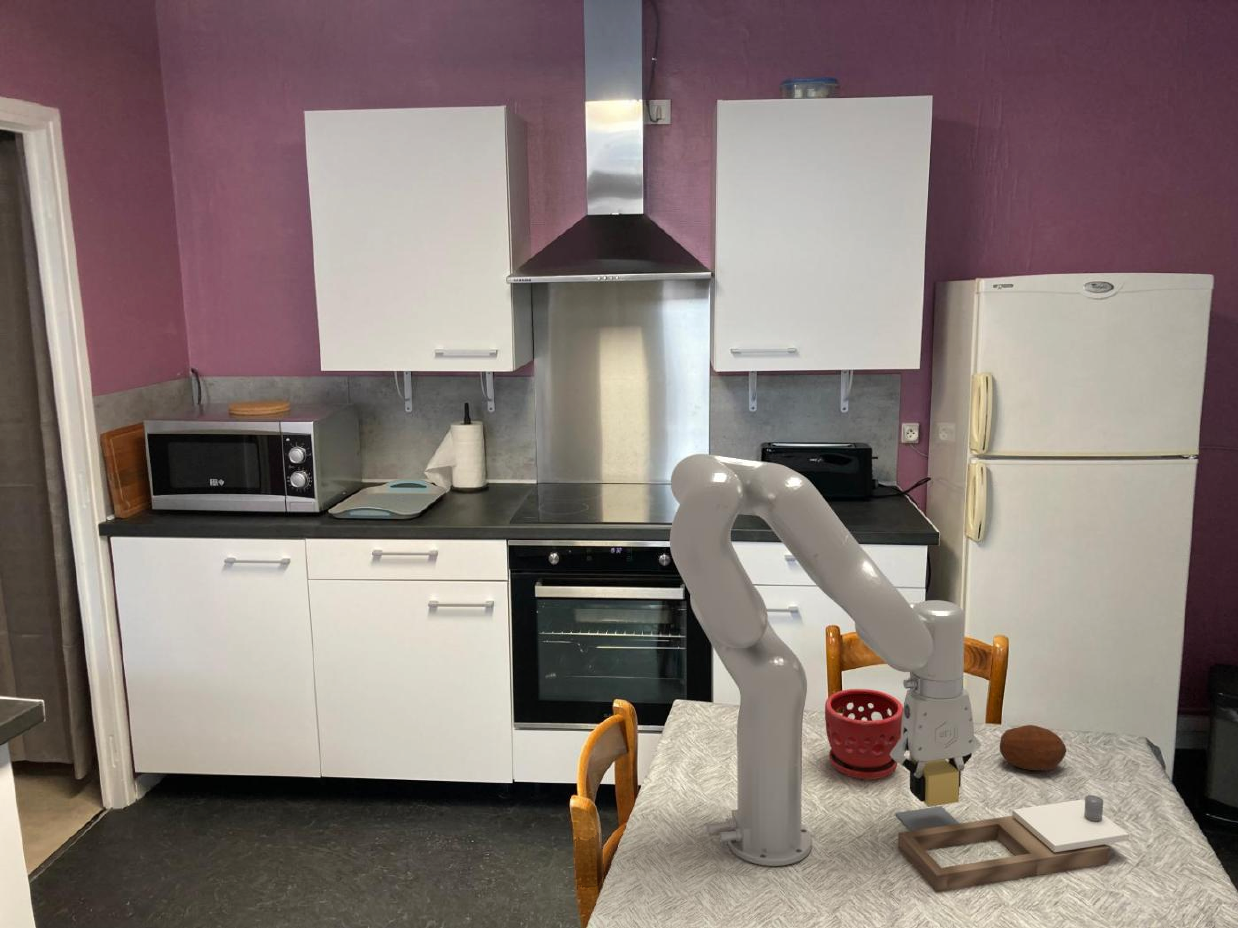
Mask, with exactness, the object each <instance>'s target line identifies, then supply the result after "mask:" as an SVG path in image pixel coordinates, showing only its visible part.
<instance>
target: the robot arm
mask: <svg viewBox="0 0 1238 928" xmlns="http://www.w3.org/2000/svg"><path fill="white" fill-rule="evenodd" d="M670 489H671V493H672V495H673V497H674V499H675V500H676V502H677V503H678V504H679V505H678V508H677V510H676V512H675V515H674V517H673V520H672V523H671V528H670V532H669V533H670V534H669V535H670V536H669V548H670V554H671V557H672V559H673V562H674V564H675V566H676V568H677V571H678V573H679V575H680V577H681V579H682V581H683V583H684V585H685V587H686V588H687V590H688V593H689V594H690V596H689V597H690V599H689V600H690V606H691V609H692V612H693V614H694V616H695V618H696V620H697V621H698V623H699V625H700V626H701V628H702V630H703V632H704V634H705V635H706V637H707V639H708V640H709V643H710V644H711V646H712V647H713V649H714V651H715V652H716V655H717V656H718V658H719V659H720V661H721V663H722V664H723V666H724V668H725V670H726V671H727V673H728V674H729V675H730V677H731V678H732V680H733V682H734V684H735V685H736V686H737V688H738V691H739V697H740V698H739V699H740V703H739V709H738V710H739V711H738V715H737V721H736V722H737V724H736V725H737V726H736V750H737V756H736V757H737V758H736V759H737V762H736V763H737V764H736V765H737V766H736V767H737V770H736V771H737V782H736V783H737V785H736V786H737V809H731V817H726V818H725V820H722V821H718V820H717V821H711V822H706V824H705V828H706V834H707V836H708V837H713V836H719V841H720V843H727V845H728V847H729V849H730V850H731V851H732V853H734V854H735V855H736V856H738V857H739V858H740V859H742V860H744V861H747V862H749V863H753V864H756V865H760V866H761V865H762V866H768V867H769V866H770V867H779V866H787V865H791V864H792V865H793V864H795V863H797V862H800V861H802V860H803V859H804V858H806V857H807V856H808V855H809V853H810V852H811V850H812V845H813V843H812V842H813V839H812V835H811V833H810V831H809V830H808V828H807V827H805V826H804V825H803V824H802V801H803V800H802V792H803V790H802V789H803V788H802V787H803V786H802V785H803V783H802V782H803V781H802V779H803V777H802V776H803V773H802V772H803V766H802V764H803V759H802V758H803V747H802V746H803V718H804V712H805V711H804V710H805V706H806V701H807V700H806V699H807V693H808V691H807V690H808V679H807V675H806V672H805V671H806V670H805V669H804V666H803V664H802V662H801V660H800V659H799V658H798V657H797V655H796V654H795V652H794V651H793V650H792V649H791V648H790V647H789V646H788V644H786V643H785V642H784V640H782V638H780V636H778V634H777V633H776V631H775V629H774V628H773V627H772V625H771V623H770V622H769V620H768V618H769V617H768V609H767V605H766V604H765V601H764V598H763V596H762V595H761V594H760V592H759V591H758V589H757V588H756V587H755V584H754V583H753V581H752V580H751V578H750V576H749V575H748V573H747V571H746V569H745V568H744V566H743V564H742V562H741V561H740V558H739V555H738V554H737V551H736V550H735V548H734V545H733V543H732V539H731V538H732V537H731V536H732V535H731V532H732V529H733V526H734V523H735V520H736V519H737V517H738V516H739V515H745V516H747V515H748V516H755V517H757V516H758V517H760V518H761V519H762V520H764V521H765V523H766V524H767V525H768V526H769V527H770V529H772V531H773V532H774V534H775V535H776V536H777V537H778V539H779V540H780V541H781V542H782V544H783V545H784V546H785V548H786V549H787V550H788V552H790V554H791V555H792V557H793V558H794V559H795V560H796V561H797V563H798V564H799V565H800V566H801V568H802V569H803V571H804V572H805V573H806V575H808V577H809V578H810V580H811V581H812V582H813V583H814V584H815V585H816V586H817V587H818V588H819V589H820V590H821V591H822V592H823V594H825V595H826V596H827V597H828V598H829V599H831V601H833V602H834V603H835V604H837V606H839V607H840V608H841V609H842V610H843V612H845V613H846V614H847V615H848V616H849V618H850V619H852V620H853V622H854V629H855V632H856V635H857V636H858V638H859V640H860V641H861V642H862V643H863V645H865V646H866V647H867V648H869V649H870V650H871V651H872V652H873V653H874V654H875V655H877V656H878V657H879V658H880V659H881V660H882V661H884V663H886V664H887V666H889V667H890V668H892V669H894V670H896V671H898V672H902V673H909V678H908V679H907V678H906V679H903V681H902V682H903V683H902V684H903V688H904V689H907V691H906V694H905V698H904V703H903V713H902V723H901V738H900V740H899V741H898V743H897V744H896V745H895V747H894V748H893V750H892V751H891V752H890V756H891V757H892V758H893V759H894V760H895V761H896V762H898V764H900V765H901V766H903V767H904V768H905V769H906V770H908V772H909V790H910V793H911V794H913V796H914V797H915V798H917V800H918V801H919V802H923V801H925V777H924V776H923V775H922V774H923V770H924V767H925V763H926V762H931V761H938V760H944V759H945V760H947V762H949V763H950V764H951V765H952V766H953V767H954V768H956V769H957V770H958V771H959V788H960V787H961V781H962V780H961V779H962V777H961V776H962V774H961V773H962V772H963V771H964V770H965V767H966V766H965V765H966V764H967V763H968V762H969V760H970V759H971V758H972V755H974V754H975V753H976V752H977V751H978V750H979V749H980V748H981V747H982V744H981V742H980V741H979V739H978V738H976V736H975V735H974V720H973V718H974V717H973V711H972V704H971V700H970V695H969V692H968V690H967V689H965V688H964V664H965V663H964V661H965V659H964V658H965V652H964V651H965V622H966V621H965V613H964V611H963V609H962V608H961V606H959V605H958V604H956V603H953V602H951V601H946V600H940V599H939V600H938V599H935V600H934V599H933V600H924V601H920V602H917V603H915V602H908V600H906V598H905V597H904V596H903V595H902V593H901V592H900V591H899V590H898V588H896V586H895V585H894V584H893V583H892V582H891V581H890V579H889V578H888V577H887V576H886V575H885V574H884V572H882V570H881V569H880V567H878V565H877V564H876V563H875V561H874V560H873V559H872V558H871V557H870V555H869V554H868V553H867V552H866V551H865V550H864V549H863V547H862V546H861V545H860V543H859V542H858V541H857V540H856V539H855V537H854V535H853V534H851V532H850V531H849V529H848V528H847V527H846V526H845V525H844V523H843V522H842V521H841V520H840V518H839V517H838V515H837V514H836V513H835V511H834V510H833V509H832V507H831V506H830V505H829V503H828V502H827V501H826V500H825V498H824V497H823V495H822V494H821V493H820V491H819V490H818V489H817V488H816V486H814V484H813V483H812V482H811V481H810V480H809V479H808V478H807V477H805V476H804V475H803V474H801V473H799V472H797V471H795V470H793V469H792V468H789V467H788V466H786V465H783V464H779V463H775V462H767V461H760V460H759V461H758V460H750V459H743V458H738V457H737V458H735V457H728V456H723V455H722V456H721V455H717V454H716V455H715V454H708V453H698V454H697V453H696V454H692V455H689V456H686V457H685V458H683V459H681V460H680V461H679V462H678V463H677V464H676V465H675V466H674V469H673V470H672V473H671V476H670ZM906 752H908V753H909V755H908V757H906V756H905V754H906Z"/></svg>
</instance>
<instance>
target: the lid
mask: <svg viewBox="0 0 1238 928" xmlns="http://www.w3.org/2000/svg"><path fill="white" fill-rule="evenodd" d="M1103 811H1104V800H1103V798H1102V797H1100V796H1098V795H1089V794H1088V795H1086V796H1085V798H1084V799H1077V800H1069V801H1064V802H1056V803H1050V804H1043V805H1036V806H1031V807H1030V806H1029V807H1023V808H1016V809H1012V815H1011V816H1013V817H1014V818H1015V819H1017V820H1018V821H1019V822H1020V823H1021V824H1022V825H1024V826H1025V827H1026V828H1027V829H1028V830H1029V831H1030V832H1032V833H1033V834H1034V835H1035V836H1036V837H1037V838H1039V839H1040V840H1041V841H1042V842H1043V843H1044V844H1046V845H1047V846H1048V847H1049V848H1050V849H1051V850H1053V851H1054V852H1060V851H1066V850H1072V849H1079V848H1085V847H1091V846H1097V845H1104V844H1105V845H1109V844H1115V843H1122V842H1128V841H1129V839H1130V837H1129V836H1130V834H1129V833H1128V832H1127V831H1126V830H1124V829H1122V827H1120V826H1119V825H1117V824H1116V823H1115V822H1114V821H1112V820H1111V819H1109V818H1108V817H1107V816H1105V815H1104V814H1103V813H1104V812H1103Z"/></svg>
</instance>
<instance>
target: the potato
mask: <svg viewBox="0 0 1238 928" xmlns="http://www.w3.org/2000/svg"><path fill="white" fill-rule="evenodd" d="M999 752H1000V754H1001V756H1002V758H1003V759H1004V760H1005V761H1006V762H1008V764H1010V765H1012V766H1013V767H1016V768H1019V769H1022V770H1023V769H1024V770H1028V771H1029V770H1031V771H1051V770H1053V769H1055V768H1056V767H1057V766H1058V765H1059V764H1060V763H1061V762H1062V761H1063V760H1064V759H1065V757H1066V753H1067V747H1066V744H1065V743H1064V741H1063V740H1062V739H1061V737H1060V736H1059V735H1057V734H1056V733H1054V732H1053V731H1052V730H1050V729H1047V728H1044V727H1041V726H1038V725H1033V724H1027V725H1021V726H1019V727H1014V728H1010V729H1006V730H1005V731H1004V733H1003V734H1002V735H1001V737H1000V742H999Z"/></svg>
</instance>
